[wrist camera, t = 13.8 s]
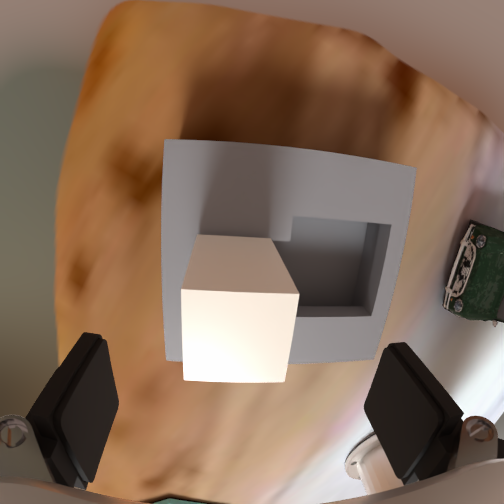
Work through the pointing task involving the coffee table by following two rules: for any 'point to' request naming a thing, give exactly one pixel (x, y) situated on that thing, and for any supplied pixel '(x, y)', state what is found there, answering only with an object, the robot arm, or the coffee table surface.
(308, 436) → the coffee table surface
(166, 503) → the plaque
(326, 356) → the keyhole board
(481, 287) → the miniature car
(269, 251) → the keyhole peg
